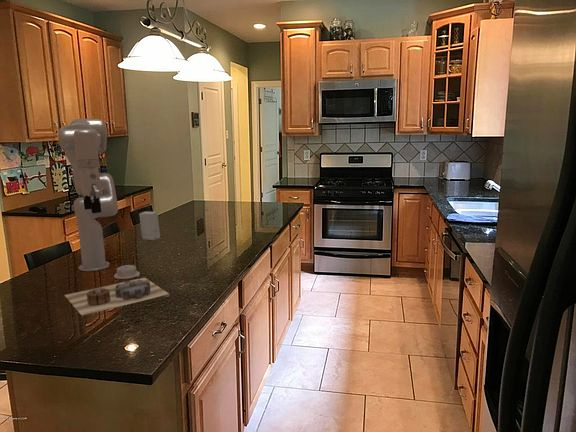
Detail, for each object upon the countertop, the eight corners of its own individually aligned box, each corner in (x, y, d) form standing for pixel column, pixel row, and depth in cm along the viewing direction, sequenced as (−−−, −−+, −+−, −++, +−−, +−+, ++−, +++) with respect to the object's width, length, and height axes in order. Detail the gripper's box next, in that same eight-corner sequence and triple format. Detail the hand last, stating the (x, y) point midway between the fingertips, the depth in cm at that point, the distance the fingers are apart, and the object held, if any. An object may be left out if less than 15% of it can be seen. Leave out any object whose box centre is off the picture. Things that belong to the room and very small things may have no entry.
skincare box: (160, 238, 255) (158, 211, 252) (153, 240, 249) (151, 213, 247) (148, 236, 258) (146, 210, 255) (140, 239, 253) (138, 212, 250)
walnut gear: (106, 296, 166) (105, 287, 166) (112, 301, 161) (111, 292, 160) (85, 301, 162) (84, 291, 162) (91, 307, 157) (90, 297, 156)
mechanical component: (144, 276, 191) (131, 272, 197) (144, 266, 190) (130, 262, 196) (123, 283, 184) (109, 278, 190) (122, 272, 183) (108, 268, 189)
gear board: (64, 297, 169) (62, 283, 168) (145, 279, 187) (143, 266, 185) (82, 318, 150) (80, 302, 149) (169, 296, 168) (168, 282, 167)
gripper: (106, 165, 163) (110, 212, 167) (92, 162, 177) (96, 206, 180) (83, 166, 159) (88, 215, 162) (71, 163, 172) (75, 209, 176)
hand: (92, 210), depth 171 cm, fingers open, 9 cm apart
